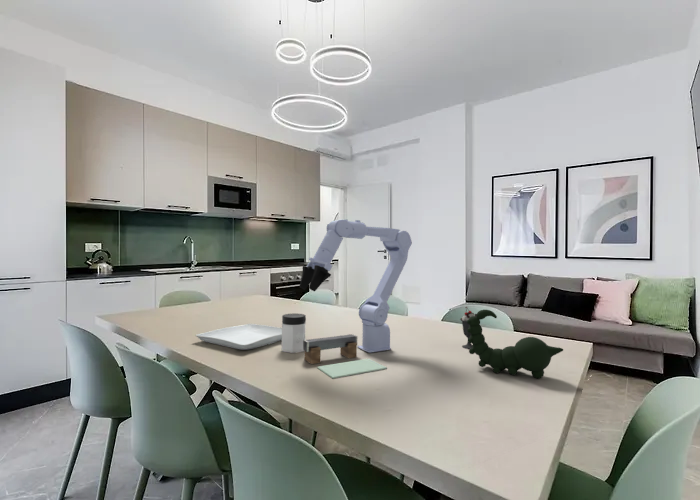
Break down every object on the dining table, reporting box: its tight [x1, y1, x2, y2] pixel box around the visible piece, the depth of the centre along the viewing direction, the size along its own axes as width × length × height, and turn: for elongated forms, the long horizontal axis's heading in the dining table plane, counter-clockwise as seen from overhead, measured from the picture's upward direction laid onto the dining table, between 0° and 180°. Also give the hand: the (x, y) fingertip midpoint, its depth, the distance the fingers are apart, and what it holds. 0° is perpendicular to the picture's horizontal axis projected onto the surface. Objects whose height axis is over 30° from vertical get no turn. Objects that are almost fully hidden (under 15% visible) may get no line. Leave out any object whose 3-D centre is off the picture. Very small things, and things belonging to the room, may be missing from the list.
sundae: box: [459, 306, 477, 350], centre depth 134 cm, size 7×7×15 cm
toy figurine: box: [467, 309, 564, 380], centre depth 106 cm, size 9×19×25 cm
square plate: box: [194, 323, 282, 351], centre depth 140 cm, size 27×27×4 cm
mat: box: [316, 358, 388, 379], centre depth 109 cm, size 18×10×1 cm, turn 120°
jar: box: [281, 313, 307, 354], centre depth 128 cm, size 9×8×12 cm
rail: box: [303, 333, 358, 352], centre depth 118 cm, size 18×3×3 cm, turn 120°
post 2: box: [339, 342, 358, 359], centre depth 122 cm, size 3×6×5 cm, turn 30°
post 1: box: [303, 347, 322, 365], centre depth 115 cm, size 3×6×5 cm, turn 30°
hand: (306, 289), depth 116 cm, fingers open, 7 cm apart
